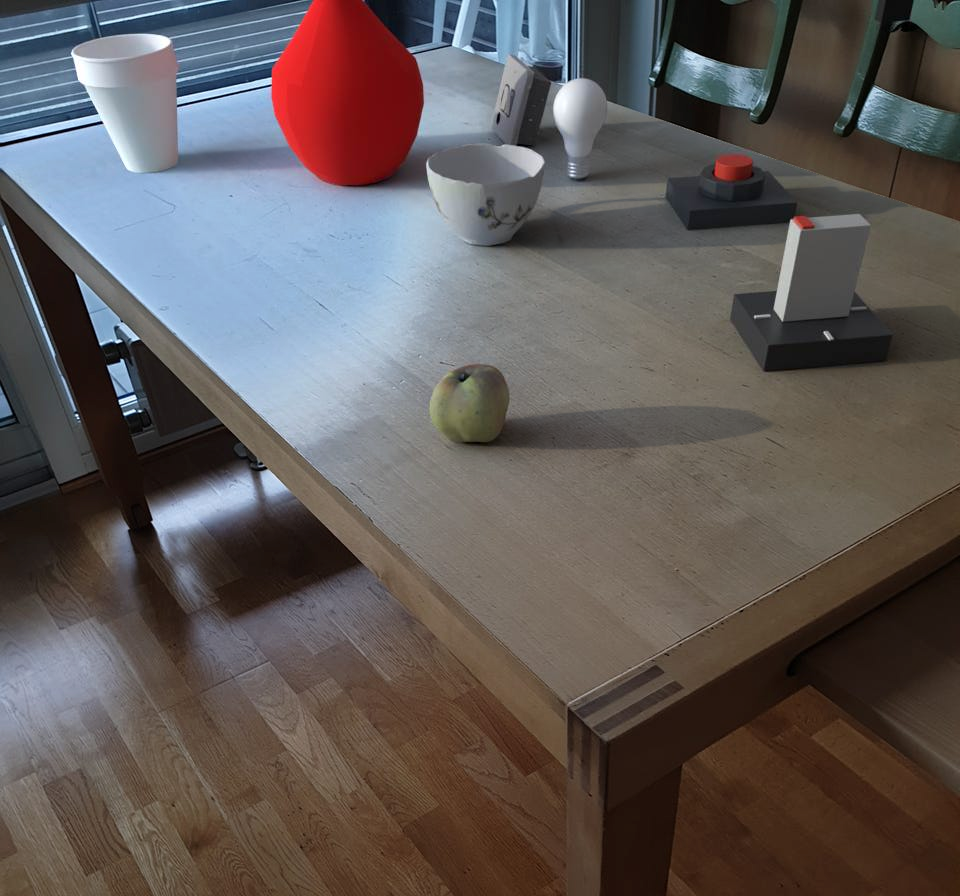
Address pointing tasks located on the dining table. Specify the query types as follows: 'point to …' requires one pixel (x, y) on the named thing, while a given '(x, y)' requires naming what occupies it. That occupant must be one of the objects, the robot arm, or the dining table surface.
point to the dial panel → (808, 335)
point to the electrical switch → (520, 103)
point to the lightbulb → (579, 121)
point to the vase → (347, 94)
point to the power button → (733, 167)
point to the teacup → (485, 189)
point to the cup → (134, 96)
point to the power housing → (729, 200)
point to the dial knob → (820, 266)
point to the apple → (470, 404)
